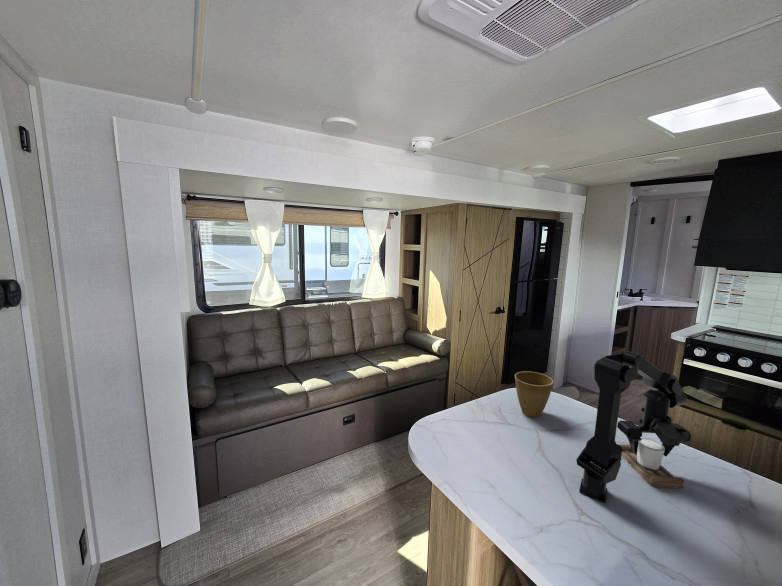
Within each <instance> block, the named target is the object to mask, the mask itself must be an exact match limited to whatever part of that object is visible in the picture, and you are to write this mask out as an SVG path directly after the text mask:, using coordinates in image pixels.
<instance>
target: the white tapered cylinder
mask: <svg viewBox="0 0 782 586" xmlns="http://www.w3.org/2000/svg"><path fill="white" fill-rule="evenodd" d="M640 438H641V439H642V440H641V441H639V443H638V450H637V461H638V462H639V463H640V464H641V465H642V466H644V467H646V468H649V469H654V470H657V469H659V467H660V464H661V463H662V459H663V457H664V455H663V454H664V451H665V448H664V446H663V445H662V443H661V442H658V441H656V440H654V439H650V438H649V437H648V438H647V437H640ZM661 465H662V464H661Z"/></svg>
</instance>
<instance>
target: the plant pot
mask: <svg viewBox="0 0 782 586" xmlns="http://www.w3.org/2000/svg"><path fill="white" fill-rule="evenodd" d="M514 381H515V389H516V395H517V398H518V399H517V400H518V404H519V407H520V409H521V413H522V414H524V415H525V416H527V417H530V418H539V417H541V416H542V413H543V412H544V410H545V409H546V405H547V404H548V401H549V398H550V397H551V392H552V389H553V387H554V386H553V385H554V380H553V378H551V377H550V376H548V375H546V374H544V373H541V372H537V371H536V372H535V371H534V372H533V371H525V370H524V371H519V372H516V373H515V374H514Z"/></svg>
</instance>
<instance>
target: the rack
mask: <svg viewBox="0 0 782 586" xmlns="http://www.w3.org/2000/svg"><path fill="white" fill-rule="evenodd" d="M618 445H620V446H621V447H622V454H621V457H622V456H623V457H622V458H623V459H624V458H625V459H624V460H625V461H626V460H627V461H628V462H629V463H628V462H627V461H626V462H627V463H628V464H629V465H630V464H631V465H630V466H631V468H632V469H633V470H634V471H636V472H637V474H639V476H640V477H641V478H643V479H644V480H645V481H647V482H648V483H649V484H650V485H651V486H650V485H649V484H648V483H647V482H646V483H647V484H648V485H649V486H650V487H658V486H663V487H662V488H672V487H678V488H677V489H684V484H685V479H684V478H683V477H679V476H674V475H673V474H672V473H671V472H670V471H669V470H667V468H665V467H664V466H663V465H662V464H660V467H659V469H657V470H654V469H649V468H646V467H644V466H642V465H641V464H640V463H639V462H638V461H637V454H634V453H633V452H632V449H631V446H630V444H620V443H619V444H618Z"/></svg>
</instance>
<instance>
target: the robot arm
mask: <svg viewBox="0 0 782 586" xmlns="http://www.w3.org/2000/svg"><path fill="white" fill-rule="evenodd" d="M593 371H594V372H593V373H594V375H593V376H594V377H593V378H594V381H595V383H596V385H597V387H598V389H599V392H598V401H597V410H596V412H597V413H596V417H595V426H594V433H593V434H594V435H593V436H592V437H591V438H590V439H588V440H587V442H586V444H585V447H584V448H583V449H582V451H581V452H580V454H579V455H578V456H577V458H576V459H575V461H576V465H577V466H579V467H580V468H582V469H583V476H582V478H581V481H580V486H579V488H578V489H579V493H580V494H583V495H586V496H588V497H590V498H592V499H595V500H597V501H599V502H602V503H607V495H608V488H607V485H608V483H612V482H614V481H616V480H617V476H618V474H619V471H620V469H621V465H622V463H621V461H622V456H621V454H622V447H621V446H620V445H621V444H620V445H618V444H617V443H616V434H617V429H618V430H620V432H622V433H623V434H624V435H625V436H626V438H627V440H628V443H629V445H630V446H631V449H632V452H633V453H634V454H637V450H638V443H639V441H641V440H642V439H641V438H642V437H643V434H655V435H656V436H657V438H658V439H659V441H660V443H661V444H662V445H663V446H664V448H665V451H664V454H663V457H667V456H669V454H670V453H671V451H673V449H674V448H675V447H679V446H680V445H681V444H685V443H687V442H691V441H692V434H691V432H690V431H689V430H688V429H687V428H684V426H682V425H680V424H678V423H672V421H673V420H672V417H670V416H669V411H670V409H672V408H673V409H674V408H676V407H680V406H682V405H685V404H686V403H687V402H688V396H687V394H686V392H685V391H683V390H682V385H680V381H679V379H678V377H677V376H676V375H675V374H671V373H668V372H665V371H663V370H660V369H659V368H658V367H656V366H655V365H654V364H652V363H651V362H650V361H648V360H647V359H646V357H645V356H644V355H642V354H639V353H636V352H632V351H628V350H626V351H625V350H623V351H621V352H620V353H616V354H614V353H613V354H610V355H609V354H608V355H605V356H604V357H602V358H601V357H600V359H598V360H596V362H595V363H594V366H593ZM639 375H640V376H641V377H642V378H641V380H642V381H643V383H644V384H645V385H646V386H647V387H650V388H653V389H654V390H653V389H650V388H649V390H648V391H645V392H644V394H643V396H644V397H645V398H646V399H645V405H644V407H641V412H642V413H643V417H642V418H641V419H639V423H640V424H641V425H637V424H635V423H634V422H633V421H632V420H621V419H620V420H619V421H618V419H619V413H620V412H619V411H620V406H621V405H620V404H621V403H620V402H621V396H622V393H623V392H625V391H626V390H628V388H630V385H631V382H633V381H634V380H636V379H638V378H639Z"/></svg>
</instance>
